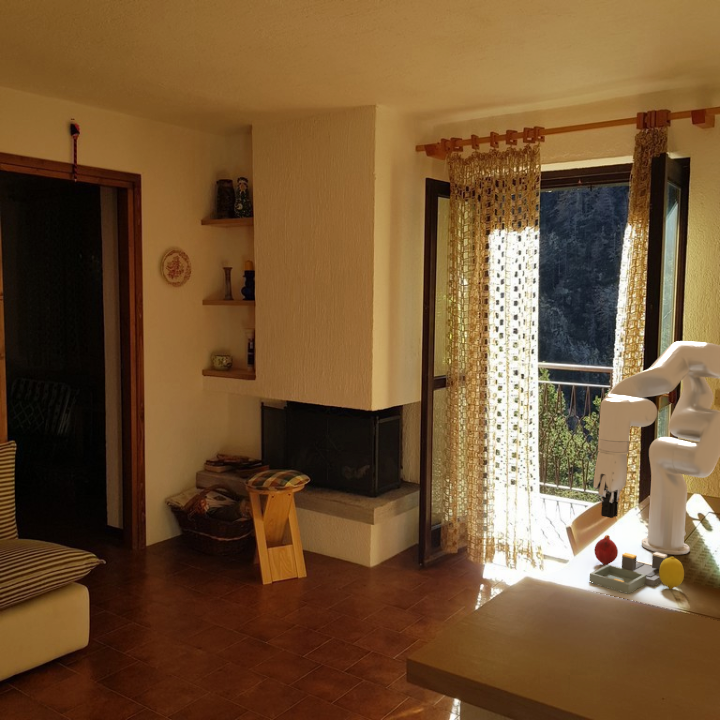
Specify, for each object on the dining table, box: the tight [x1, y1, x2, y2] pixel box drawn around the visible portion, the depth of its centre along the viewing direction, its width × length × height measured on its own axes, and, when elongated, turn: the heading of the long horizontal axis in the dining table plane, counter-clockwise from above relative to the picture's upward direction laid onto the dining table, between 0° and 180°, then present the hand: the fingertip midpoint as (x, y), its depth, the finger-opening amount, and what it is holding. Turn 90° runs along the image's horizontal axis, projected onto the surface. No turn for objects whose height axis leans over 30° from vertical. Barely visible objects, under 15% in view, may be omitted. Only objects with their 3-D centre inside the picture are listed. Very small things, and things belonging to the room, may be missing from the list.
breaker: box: [651, 552, 668, 569], centre depth 188 cm, size 2×3×4 cm
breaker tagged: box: [621, 552, 638, 571], centre depth 187 cm, size 2×3×4 cm
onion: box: [594, 534, 619, 566], centre depth 195 cm, size 6×6×8 cm
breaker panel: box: [634, 560, 662, 587], centre depth 188 cm, size 11×9×2 cm
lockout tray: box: [588, 563, 646, 595], centre depth 183 cm, size 10×10×2 cm
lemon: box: [659, 556, 685, 590], centre depth 180 cm, size 6×6×8 cm
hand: (609, 515), depth 194 cm, fingers closed
